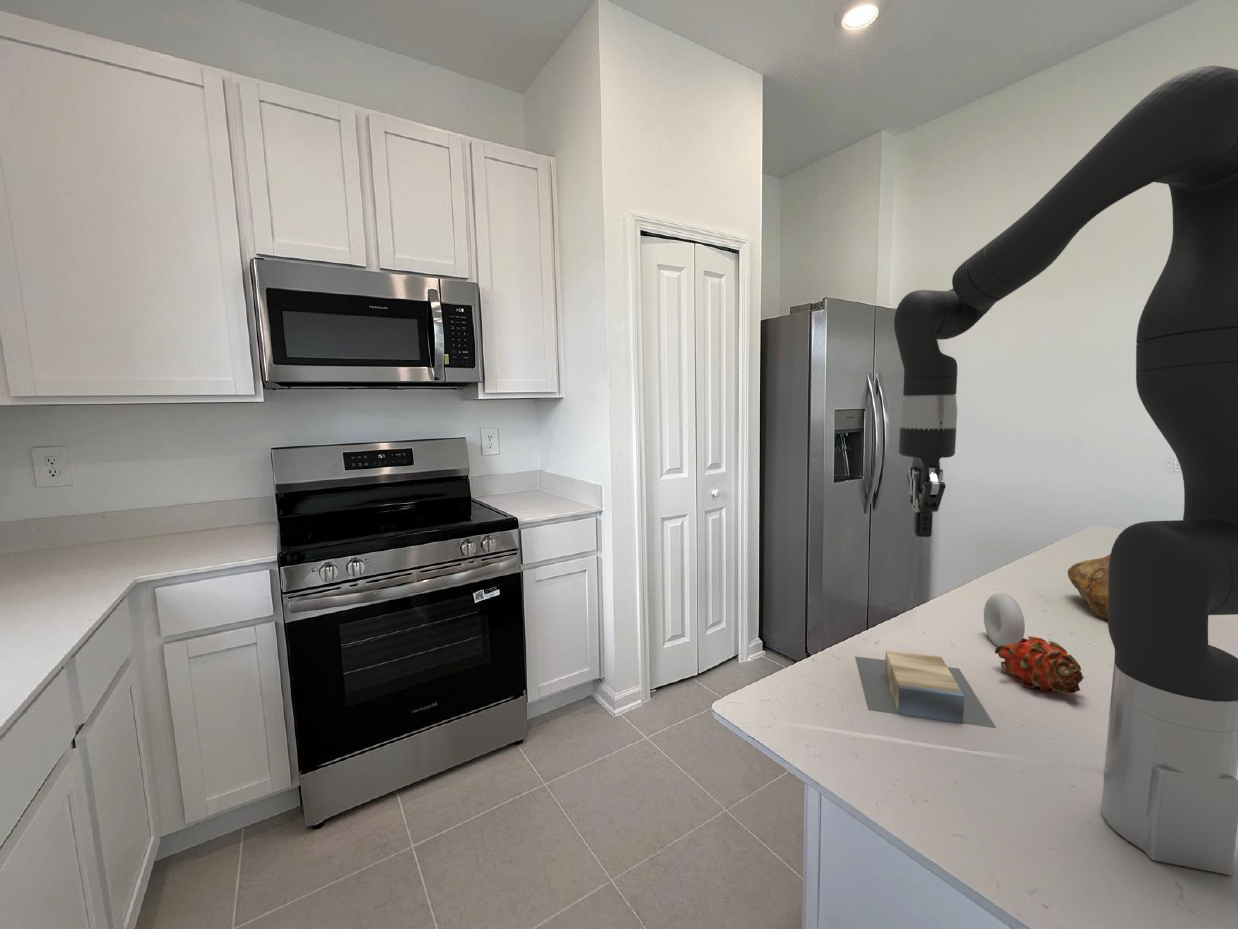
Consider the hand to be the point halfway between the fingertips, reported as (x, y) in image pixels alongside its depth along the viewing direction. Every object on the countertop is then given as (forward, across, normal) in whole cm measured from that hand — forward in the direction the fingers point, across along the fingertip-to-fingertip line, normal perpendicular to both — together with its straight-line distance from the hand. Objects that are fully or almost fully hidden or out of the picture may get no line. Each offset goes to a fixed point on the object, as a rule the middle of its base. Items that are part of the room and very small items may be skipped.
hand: (922, 535), depth 83 cm
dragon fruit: (+24, +3, -18) cm, 30 cm away
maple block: (+22, 0, 0) cm, 22 cm away
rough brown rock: (+25, +43, -47) cm, 68 cm away
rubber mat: (+24, -3, 0) cm, 24 cm away
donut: (+24, +17, -18) cm, 35 cm away
